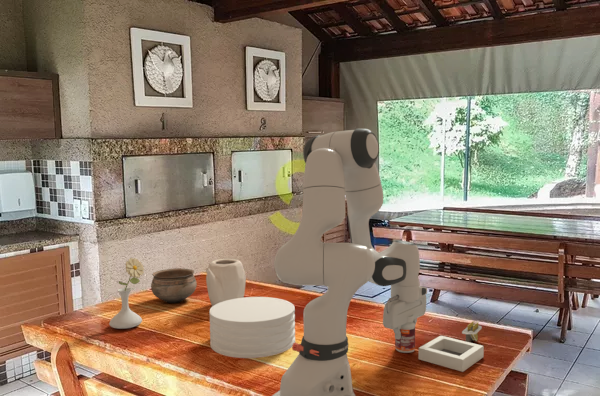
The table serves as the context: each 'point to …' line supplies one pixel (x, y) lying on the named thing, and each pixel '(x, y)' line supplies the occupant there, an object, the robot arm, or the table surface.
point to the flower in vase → (127, 316)
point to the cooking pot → (173, 284)
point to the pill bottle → (406, 337)
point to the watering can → (225, 280)
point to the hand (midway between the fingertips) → (404, 335)
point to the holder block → (451, 353)
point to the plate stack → (252, 327)
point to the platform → (472, 331)
